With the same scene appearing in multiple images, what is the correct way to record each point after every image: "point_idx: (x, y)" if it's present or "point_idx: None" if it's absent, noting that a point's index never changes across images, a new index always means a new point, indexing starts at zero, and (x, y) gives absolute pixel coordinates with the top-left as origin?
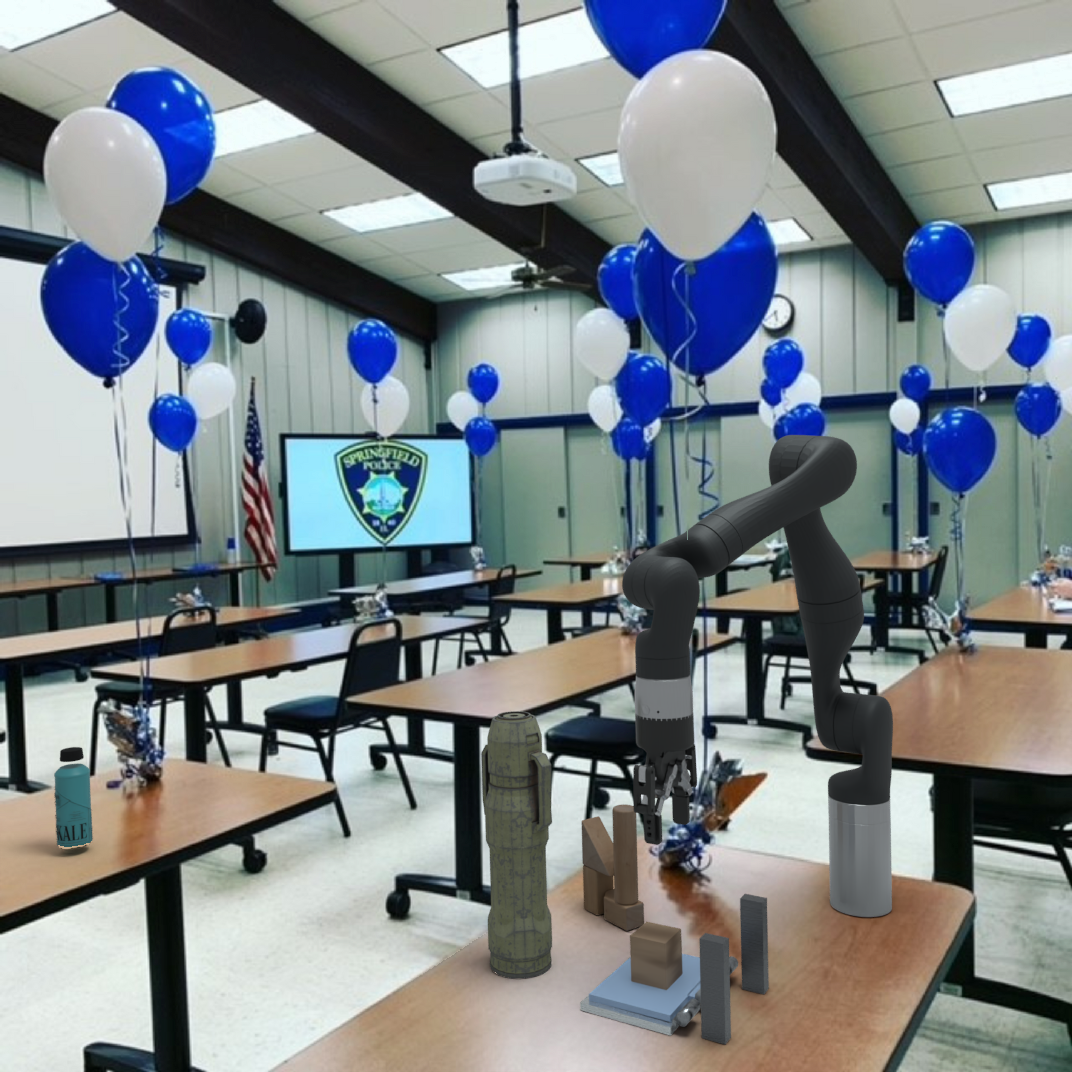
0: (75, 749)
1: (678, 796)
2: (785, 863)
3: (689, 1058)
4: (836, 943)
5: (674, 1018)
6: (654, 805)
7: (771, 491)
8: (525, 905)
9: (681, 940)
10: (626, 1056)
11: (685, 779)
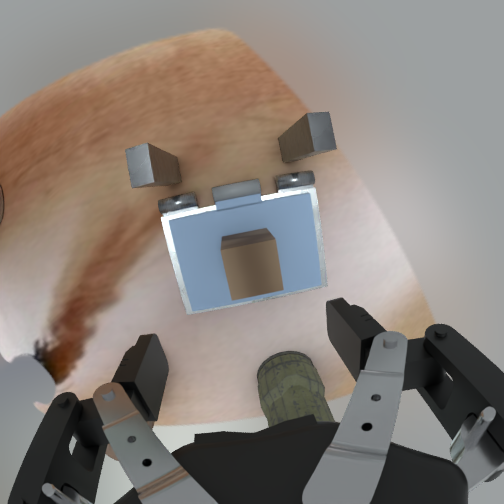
0: None
1: (145, 406)
2: None
3: (333, 152)
4: (44, 172)
5: (309, 187)
6: (439, 344)
7: None
8: (320, 401)
9: (221, 246)
10: (362, 200)
11: (155, 436)
